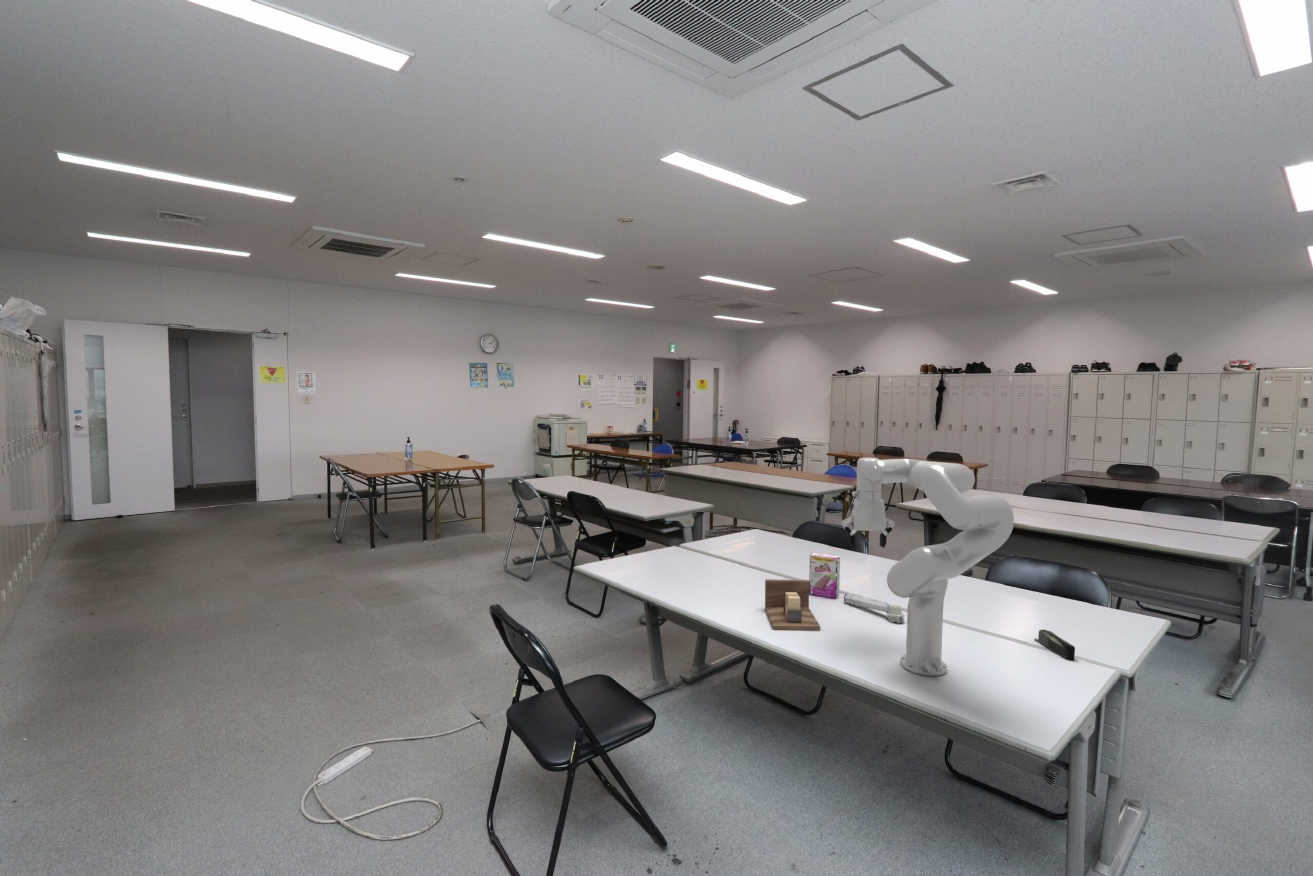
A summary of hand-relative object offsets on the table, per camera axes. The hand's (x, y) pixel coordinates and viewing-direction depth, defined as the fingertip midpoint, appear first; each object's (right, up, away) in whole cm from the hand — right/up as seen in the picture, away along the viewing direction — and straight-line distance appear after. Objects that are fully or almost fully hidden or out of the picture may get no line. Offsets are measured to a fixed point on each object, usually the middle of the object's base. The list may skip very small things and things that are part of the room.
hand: (867, 546), depth 192 cm
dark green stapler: (+55, -31, -9) cm, 64 cm away
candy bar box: (-2, -28, +42) cm, 50 cm away
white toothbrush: (+11, -29, +23) cm, 39 cm away
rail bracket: (-21, -28, +15) cm, 38 cm away
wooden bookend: (-21, -29, +17) cm, 40 cm away
